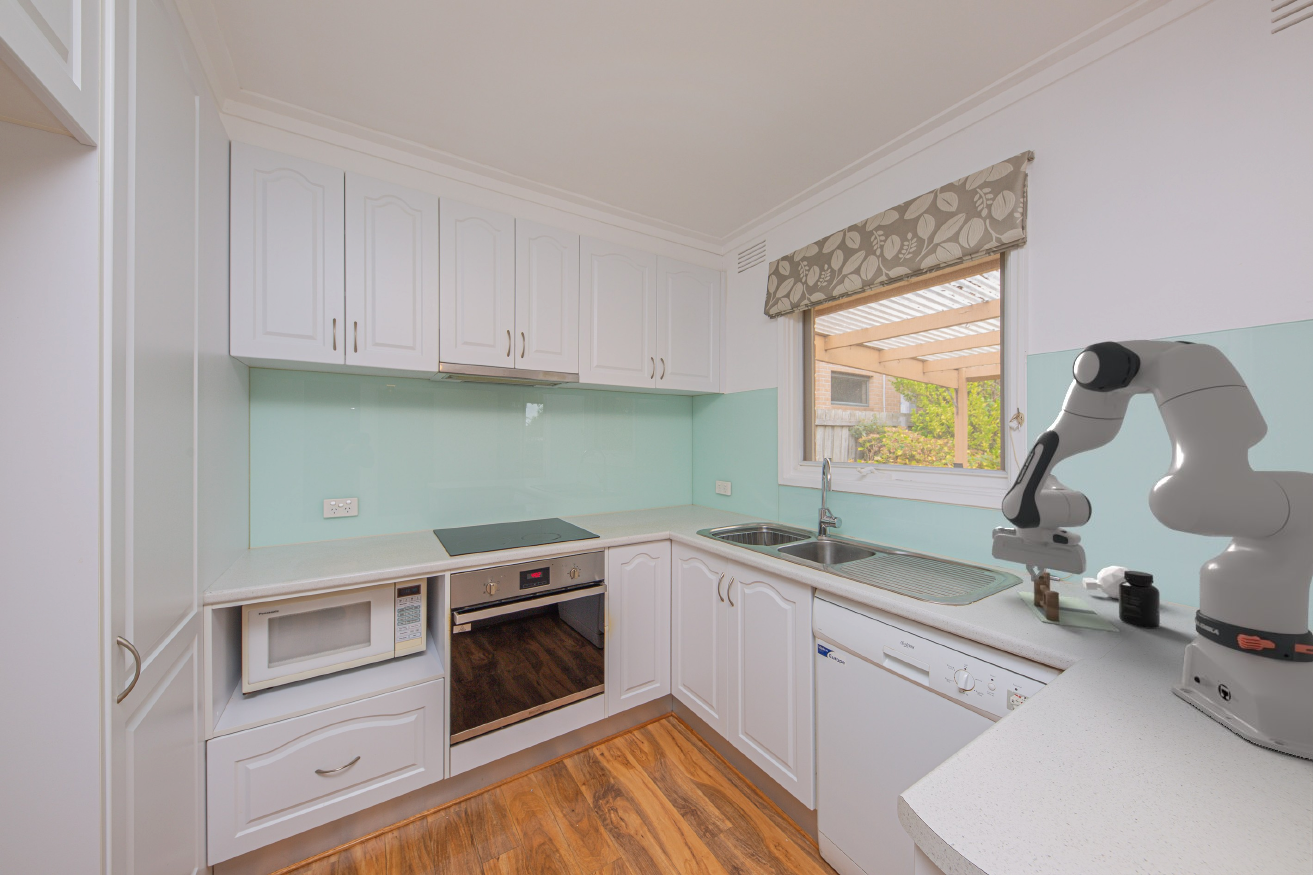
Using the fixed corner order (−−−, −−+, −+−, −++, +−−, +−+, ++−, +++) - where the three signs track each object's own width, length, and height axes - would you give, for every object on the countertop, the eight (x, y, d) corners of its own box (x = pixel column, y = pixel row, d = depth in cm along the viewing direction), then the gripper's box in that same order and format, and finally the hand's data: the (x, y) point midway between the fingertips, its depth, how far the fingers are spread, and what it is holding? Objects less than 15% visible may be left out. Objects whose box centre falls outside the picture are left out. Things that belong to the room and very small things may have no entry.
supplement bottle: (1168, 630, 107) (1168, 578, 107) (1133, 627, 108) (1133, 576, 108) (1143, 618, 113) (1143, 569, 113) (1111, 616, 115) (1110, 568, 115)
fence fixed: (1033, 604, 123) (1032, 578, 123) (1044, 606, 122) (1044, 579, 122) (1047, 621, 112) (1047, 592, 112) (1060, 623, 111) (1060, 594, 111)
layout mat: (1119, 632, 105) (1119, 630, 105) (1041, 622, 112) (1041, 620, 112) (1079, 599, 127) (1079, 597, 127) (1016, 592, 133) (1016, 590, 133)
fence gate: (1047, 602, 122) (1046, 579, 122) (1035, 600, 124) (1035, 577, 124) (1050, 594, 128) (1050, 572, 128) (1039, 592, 130) (1039, 570, 130)
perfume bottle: (1132, 587, 131) (1078, 587, 135) (1132, 559, 128) (1077, 560, 133) (1150, 607, 123) (1092, 606, 128) (1150, 577, 121) (1091, 577, 126)
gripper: (988, 526, 134) (987, 574, 134) (1081, 540, 117) (1081, 594, 117) (996, 524, 137) (996, 570, 138) (1088, 537, 121) (1088, 589, 121)
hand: (1036, 581), depth 127 cm, fingers closed
